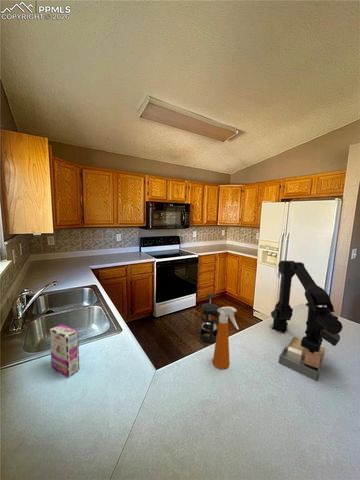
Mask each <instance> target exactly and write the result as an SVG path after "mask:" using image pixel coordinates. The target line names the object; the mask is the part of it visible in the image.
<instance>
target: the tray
mask: <svg viewBox="0 0 360 480" xmlns="http://www.w3.org/2000/svg"><path fill="white" fill-rule="evenodd" d="M287 347H288V345H284V347H283V349H282V351H281V353H280V354H279V358H278V364H281V365H283V366H285V367H287V368H289V369H291V370H293V371H295V372H297V373H299V374H301V375H303V376H305V377H307V378H310V379H312V380H314V381H315V382H319V379H320V375H321V372H322V368H323V360H322V361H321V362H320V365H319V368H318V369H316V368H313V367H311V366H308V365H306V364H304V362H305V361H304V360H302V359H301V364H299V363H297V362H295V361H292V360H290V359H288V358H287V353H286V348H287Z"/></svg>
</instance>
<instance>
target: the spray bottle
mask: <svg viewBox="0 0 360 480" xmlns="http://www.w3.org/2000/svg"><path fill="white" fill-rule="evenodd" d="M217 311H218V312H217V313H219V315H218V316H219V321H218V330H217V337H216V343H214V344H215V345H214V352H213V358H212V364H213V366H215V368H217V369H221V370H226V369H229V367H230V342H229V319H230V321H231V322H232V324H233V326H234V327H235V329H236V330H240V328H239V326H238V324H237V322H236V319H235V313H237V309H236V308H234V306H223V307H219V309H217Z"/></svg>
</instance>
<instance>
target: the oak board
mask: <svg viewBox="0 0 360 480" xmlns="http://www.w3.org/2000/svg"><path fill="white" fill-rule="evenodd" d="M301 340H302V338H299V337H296V336H292V338H291V340H290V342H289V343H288V345H287V348H286V353H287V352H288V348H289V347H292V348H295V349H297V350H300V351H302V357H301V359H302V360H304V361H305V354H306V351H309V349H307V348H305V347H302V346H301ZM325 349H326V347H323V346H321V347H320V351H319V352H314V354H317V355H320V362H321V361H322V362H323V359H324V356H325V355H324V354H325ZM319 365H320V363H319Z"/></svg>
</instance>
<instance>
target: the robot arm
mask: <svg viewBox="0 0 360 480" xmlns="http://www.w3.org/2000/svg"><path fill="white" fill-rule="evenodd" d="M277 267H278V272H279V274H280V276H281V277H280V287H279V298H278V302H276V304H275V305H274V309H273V310H272V311H270V317H271V318H272V319H273V323H272V327H271V330H275V331H277V332H280V333H281V334H285V333H286V332H287V331H288V325H289V322H290V321H291V319H292V317H293V311H294V309H293V308H292V307H291V305H290V299H291V287H292V280H293V278H294V276H295V275H296V277H297V279H298V280H299V282H300V283H301V285H302V287H303V289H304V296H305V299H306V301H307V302H306V303H305V306H306V307H307V308H308V309H307V317H306V319H307V320H306V322H305V325H306V329H305V332H304V333H305V336H303V337H302V338H301V339H302V340H301V346H302V347H305V348H307V349H309V352H311V353H314V352H319V351H320V347H322V344H323V341H326V342H327V343H329V344H330V345H332V346H333V347H336V346H337V345H338V344H339V342H340V340H341V336H340V333H341V332H342V331H343V324H342V322H341V321H340V320H339V317H338V315H335V314H334V313H335V310H334V308H335V307H334V305H333V303H332V301H331V297H330V296H329V294H328V292H326V290H324V288H322V287H321V286H319V285H317V284H316V282H315V281H314V279H313V277H312V276H311V274H310V273H309V271H308V270H307V269H306V267H305V264H304V262H302V261H301V262H300V261H294V260H280V261H279V262H278V264H277ZM288 321H289V322H288Z"/></svg>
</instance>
